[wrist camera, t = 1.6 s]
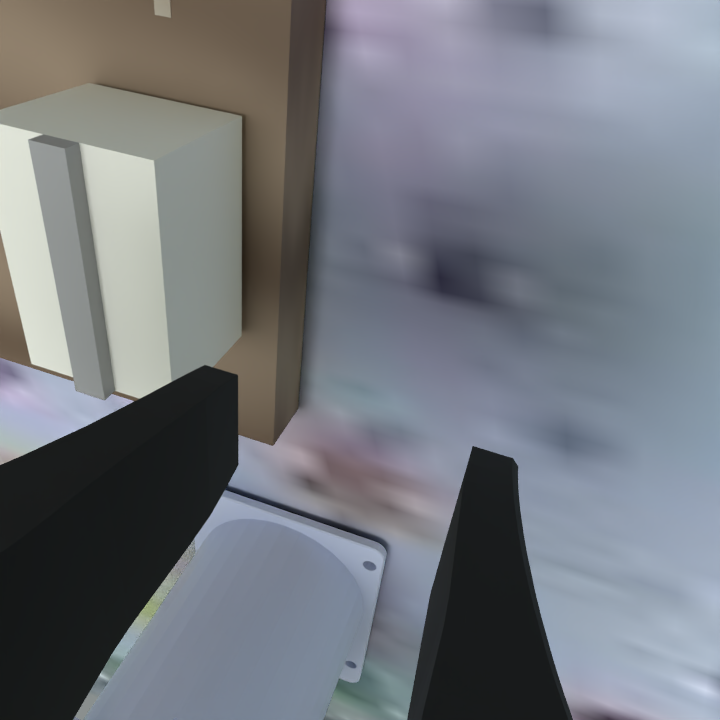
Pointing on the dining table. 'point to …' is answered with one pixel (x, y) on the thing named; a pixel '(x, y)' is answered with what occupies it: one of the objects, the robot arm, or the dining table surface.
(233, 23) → the console board
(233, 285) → the fader knob
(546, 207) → the dining table surface
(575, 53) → the dining table surface
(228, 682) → the robot arm
